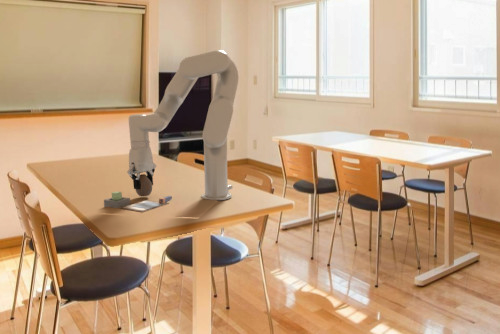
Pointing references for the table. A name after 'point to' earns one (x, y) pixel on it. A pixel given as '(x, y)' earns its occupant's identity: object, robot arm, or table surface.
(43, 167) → the table surface
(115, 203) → the button box
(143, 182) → the vase
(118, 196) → the button
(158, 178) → the table surface
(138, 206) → the picture frame
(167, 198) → the marker
